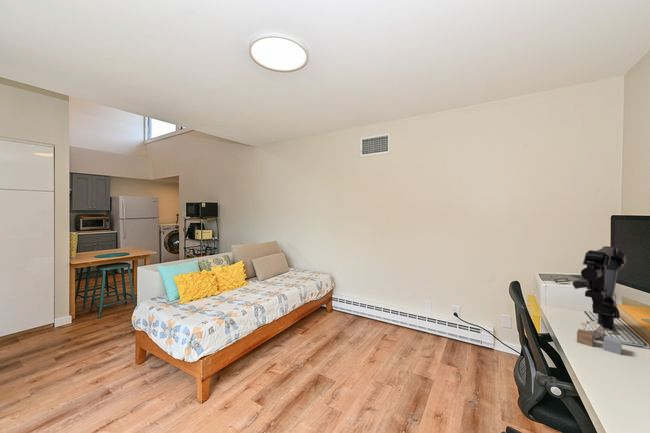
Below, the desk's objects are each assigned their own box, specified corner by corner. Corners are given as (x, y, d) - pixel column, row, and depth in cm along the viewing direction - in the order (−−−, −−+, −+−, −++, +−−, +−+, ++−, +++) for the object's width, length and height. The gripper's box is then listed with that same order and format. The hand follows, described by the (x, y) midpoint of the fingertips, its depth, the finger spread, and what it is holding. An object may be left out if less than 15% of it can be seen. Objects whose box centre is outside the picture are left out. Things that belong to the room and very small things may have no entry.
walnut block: (578, 338, 124) (578, 328, 124) (593, 343, 120) (593, 332, 120) (576, 342, 121) (577, 331, 121) (592, 346, 117) (592, 336, 117)
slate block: (604, 346, 117) (604, 335, 117) (621, 350, 113) (621, 339, 113) (603, 350, 114) (603, 339, 114) (620, 355, 110) (621, 343, 110)
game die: (599, 347, 123) (617, 336, 117) (580, 339, 125) (597, 328, 119) (591, 330, 130) (608, 319, 124) (572, 323, 132) (588, 312, 125)
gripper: (577, 270, 139) (576, 298, 140) (570, 277, 127) (570, 308, 128) (607, 274, 130) (607, 304, 131) (604, 282, 119) (603, 315, 119)
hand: (596, 308), depth 128 cm, fingers closed
